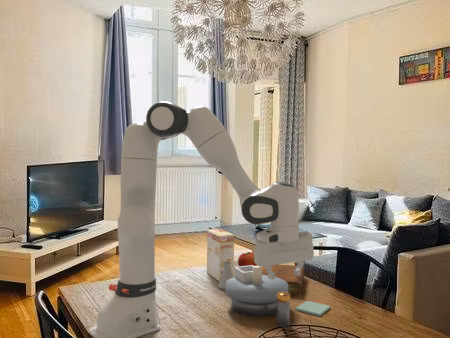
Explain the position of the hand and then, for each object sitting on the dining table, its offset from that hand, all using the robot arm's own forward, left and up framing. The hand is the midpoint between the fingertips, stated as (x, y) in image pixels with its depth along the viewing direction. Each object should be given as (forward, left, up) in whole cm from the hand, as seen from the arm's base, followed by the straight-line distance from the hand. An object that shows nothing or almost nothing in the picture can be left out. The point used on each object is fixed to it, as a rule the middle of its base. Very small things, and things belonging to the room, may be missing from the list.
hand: (284, 276), depth 140 cm
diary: (+35, +21, -16) cm, 44 cm away
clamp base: (+8, +15, -16) cm, 23 cm away
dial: (+8, +15, -10) cm, 20 cm away
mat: (+18, -2, -16) cm, 24 cm away
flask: (+19, +36, -16) cm, 44 cm away
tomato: (+45, +43, -16) cm, 64 cm away
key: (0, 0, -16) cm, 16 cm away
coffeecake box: (+29, +47, -16) cm, 58 cm away
